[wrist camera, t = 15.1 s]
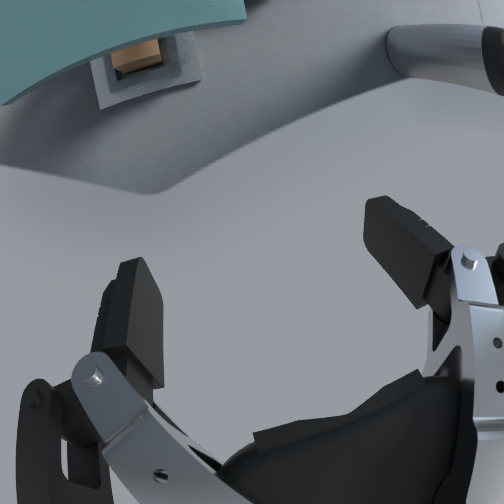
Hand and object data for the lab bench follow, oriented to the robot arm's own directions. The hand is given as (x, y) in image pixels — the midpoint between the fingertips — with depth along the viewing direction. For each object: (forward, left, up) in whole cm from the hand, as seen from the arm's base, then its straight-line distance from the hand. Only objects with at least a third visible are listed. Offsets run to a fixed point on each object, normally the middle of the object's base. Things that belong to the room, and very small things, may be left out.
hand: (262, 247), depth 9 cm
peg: (+4, -12, -25) cm, 28 cm away
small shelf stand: (+4, -13, -26) cm, 29 cm away
